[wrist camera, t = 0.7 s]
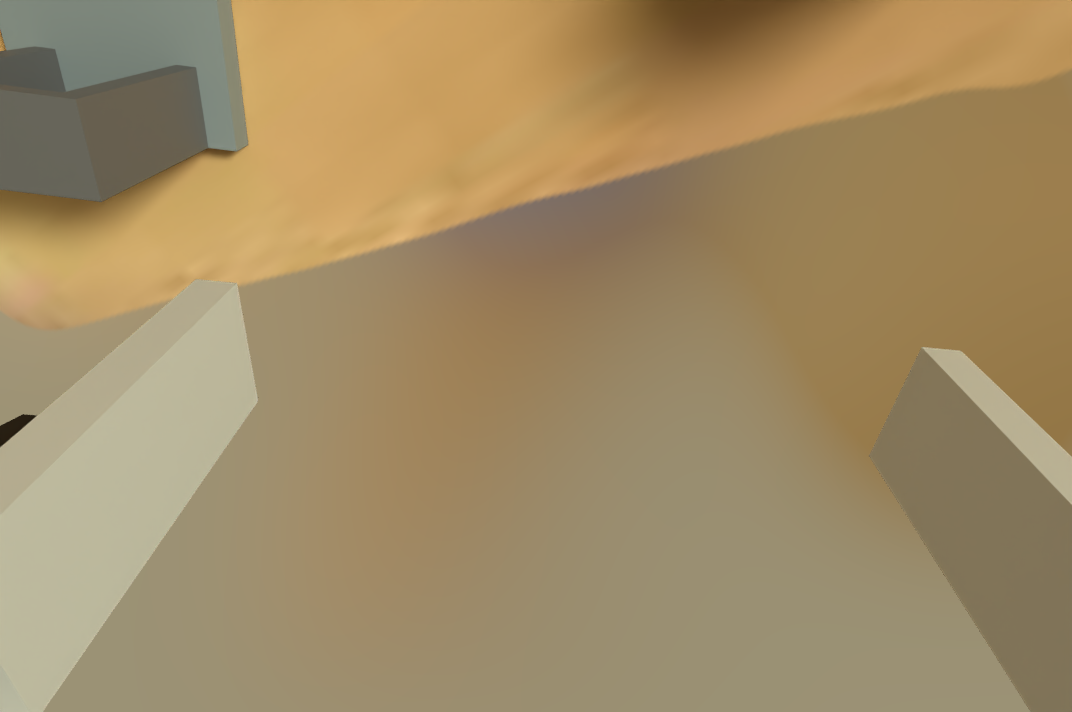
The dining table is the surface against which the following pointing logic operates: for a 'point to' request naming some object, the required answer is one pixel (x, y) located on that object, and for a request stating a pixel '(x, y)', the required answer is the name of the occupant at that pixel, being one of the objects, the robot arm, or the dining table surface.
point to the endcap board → (113, 91)
